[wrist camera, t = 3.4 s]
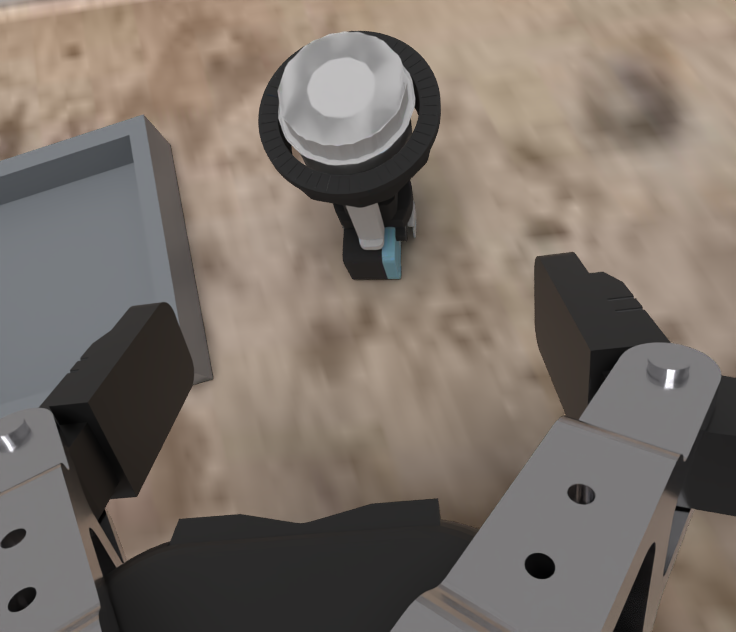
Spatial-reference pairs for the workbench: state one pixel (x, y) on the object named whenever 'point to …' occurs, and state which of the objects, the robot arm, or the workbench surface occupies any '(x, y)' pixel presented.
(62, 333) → the tray
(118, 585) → the robot arm
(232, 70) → the workbench surface
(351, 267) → the push button
